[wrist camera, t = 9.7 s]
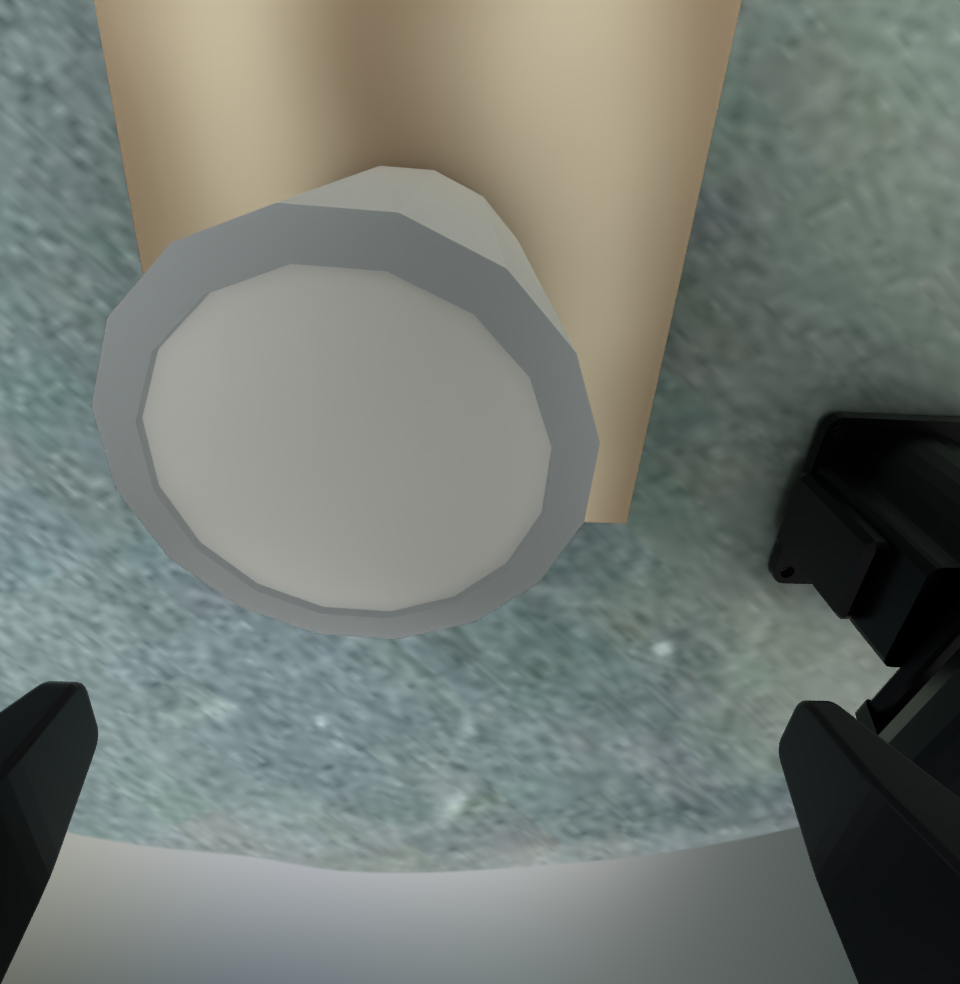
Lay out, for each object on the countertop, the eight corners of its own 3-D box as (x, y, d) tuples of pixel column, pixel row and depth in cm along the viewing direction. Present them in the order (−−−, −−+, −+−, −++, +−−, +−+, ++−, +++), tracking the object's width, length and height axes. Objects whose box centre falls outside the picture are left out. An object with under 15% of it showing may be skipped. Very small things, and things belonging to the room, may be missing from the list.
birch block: (676, 17, 16) (743, -7, 12) (596, 457, 22) (626, 523, 18) (162, -34, 15) (80, -76, 11) (226, 443, 21) (184, 509, 17)
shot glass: (184, 242, 14) (-31, 382, 8) (459, 52, 12) (426, 63, 6) (369, 477, 17) (305, 693, 12) (609, 358, 15) (676, 549, 10)
